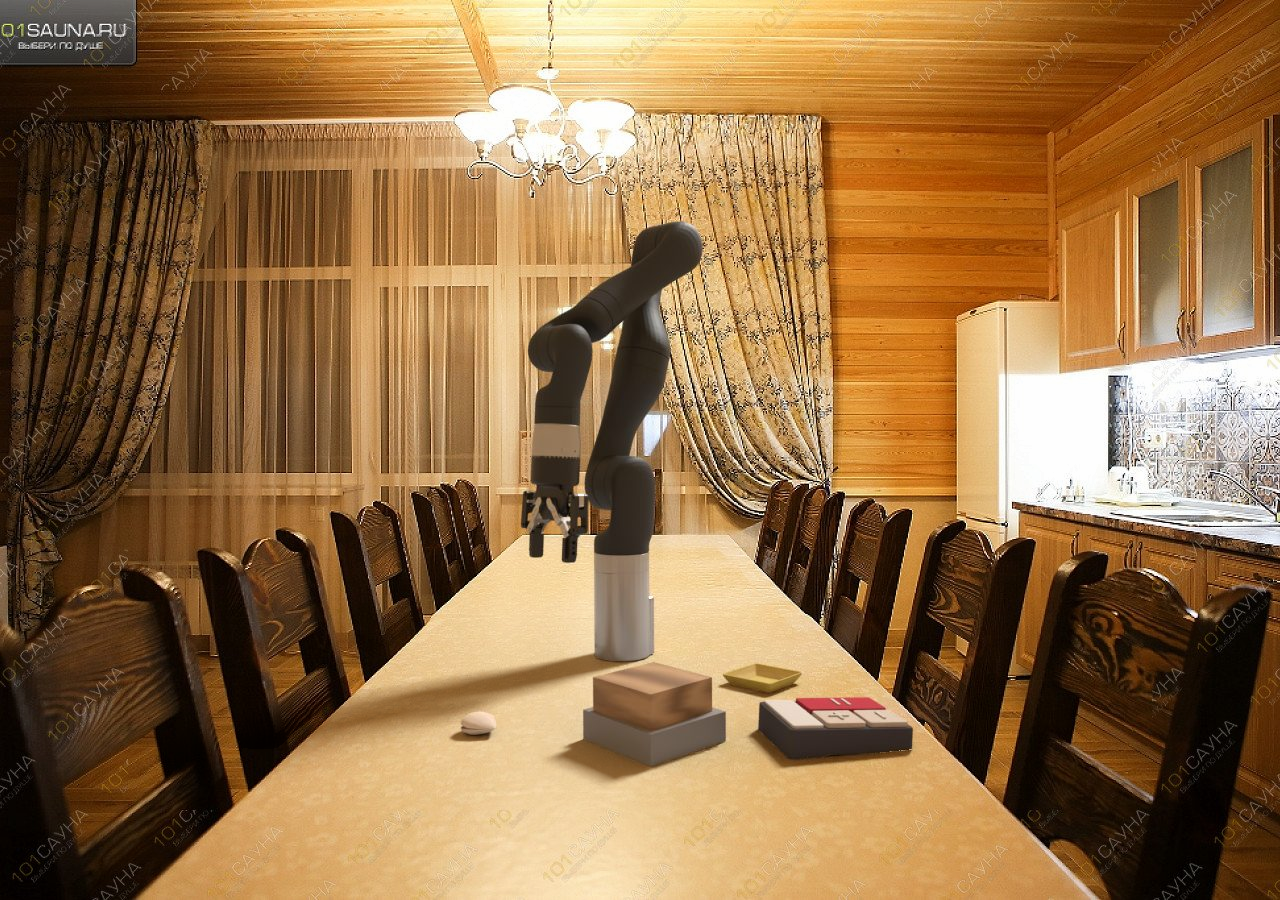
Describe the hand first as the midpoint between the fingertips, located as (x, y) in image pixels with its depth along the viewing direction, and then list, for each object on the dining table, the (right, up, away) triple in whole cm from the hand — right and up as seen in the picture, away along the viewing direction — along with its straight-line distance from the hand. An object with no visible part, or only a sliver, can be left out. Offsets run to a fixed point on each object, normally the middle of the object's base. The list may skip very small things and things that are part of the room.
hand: (552, 559), depth 133 cm
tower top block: (+15, -14, -30) cm, 37 cm away
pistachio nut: (-6, -18, -27) cm, 33 cm away
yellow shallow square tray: (+31, -18, -6) cm, 37 cm away
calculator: (+36, -18, -30) cm, 51 cm away
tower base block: (+15, -18, -30) cm, 38 cm away
